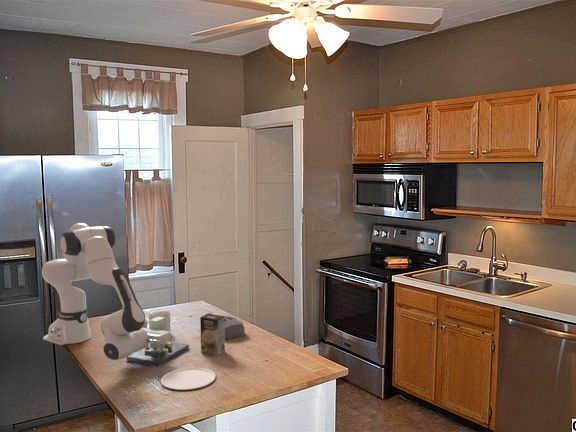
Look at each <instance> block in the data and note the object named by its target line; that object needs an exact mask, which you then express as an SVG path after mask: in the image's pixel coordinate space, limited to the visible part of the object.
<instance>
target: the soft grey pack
mask: <svg viewBox="0 0 576 432" xmlns="http://www.w3.org/2000/svg"><path fill="white" fill-rule="evenodd" d="M224 316H225V340H234V339H238V338H241V337H243V336H244V334H245V329H246V328H245V325H244V323H243V322H242V321H239V319H237V318H235V317H233V316H228V315H224Z"/></svg>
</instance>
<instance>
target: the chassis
mask: <svg viewBox="0 0 576 432" xmlns="http://www.w3.org/2000/svg"><path fill="white" fill-rule="evenodd" d="M189 345H190V344H186V343H181V342H175V341H174V342H173V341H167V344H166V345H164V346H161V347H160V348H159V349H156V348H150V343H149V344H148V346H147V347H146V348H144V349H142V350H140V351H138V352H135V353H133V354H131V355H130V356H128V357H126V362H130V363H136V364H142V365H146V366H153V367H157V368H158V367H160V366H161V365H164V364H165V363H167V362H169V361H170V360H172V359H174V358H176V357H177V356H179V355H181V354H182V353H185V352H187V351H189V349H190V346H189Z"/></svg>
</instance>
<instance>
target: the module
mask: <svg viewBox="0 0 576 432" xmlns="http://www.w3.org/2000/svg"><path fill="white" fill-rule="evenodd" d="M148 325H149V327H150V329H156V330H160V329H162V328H164V329H166V317H156V318H153V319H151V320H149V319H148ZM149 327H148V328H149ZM166 344H167V342H165V343H162V344H152V343H149V345H150V348H156V349H159V348H160V347H161V346H164V345H166Z"/></svg>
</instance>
